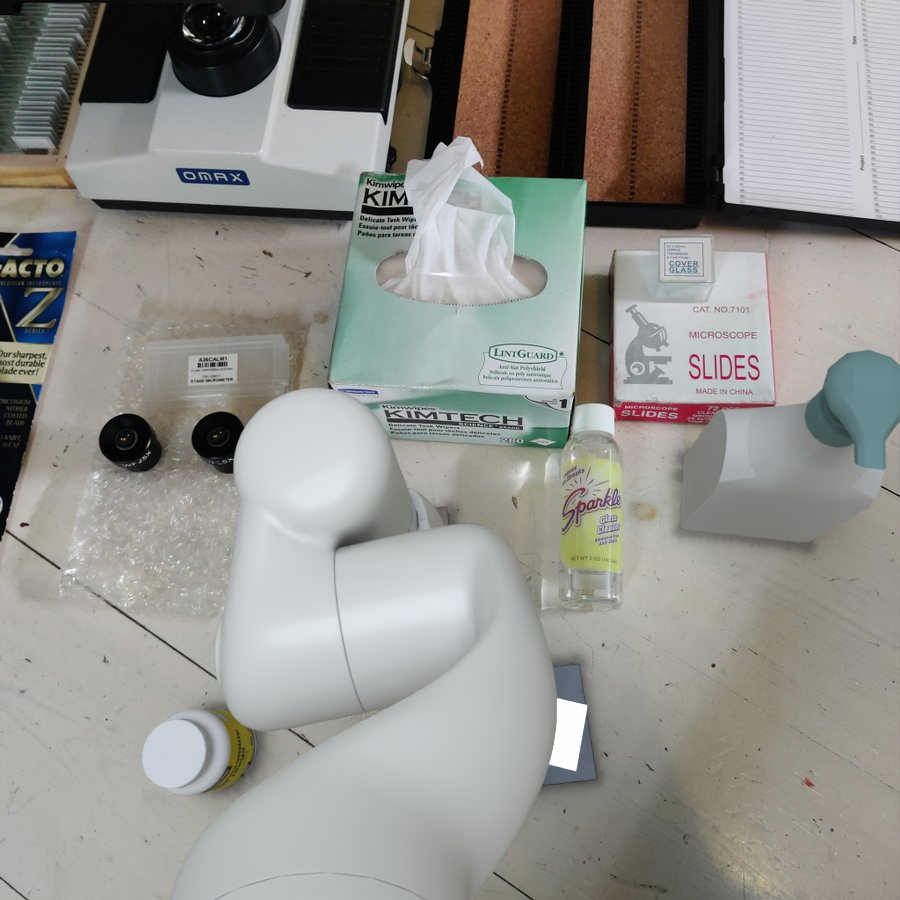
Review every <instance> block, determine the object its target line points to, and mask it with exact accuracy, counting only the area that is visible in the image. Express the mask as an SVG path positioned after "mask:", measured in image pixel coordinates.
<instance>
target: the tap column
mask: <svg viewBox="0 0 900 900" xmlns="http://www.w3.org/2000/svg"><path fill="white" fill-rule="evenodd" d="M553 669H554V676H555V684H556V693H557V697H558V698H562V699H566V700H570V701H575V702H579V703H583V704H586V697H585V696H586V695H585V691H584V683H583V678H582V672H581V665H580V663H571V664H570V663H569V664H562V665H553ZM590 729H591V728H590V722H589V717H588V715H587V716H586V721H585V727H584V733H583V739H582V744H581V750H580V756H579V761H578V767H577V772H574V771H570V770H566V769H562V768H558V767H554V766H550V765H549V767H548V770H547V773H546V776H545V779H544V782H543V785H542V787H545V786H554V785H561V784H570V783H579V782H588V781H597V780H598V776H597V768H596V762H595V756H594V750H593V742H592V737H591V736H592V735H591V730H590Z"/></svg>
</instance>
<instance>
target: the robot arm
mask: <svg viewBox="0 0 900 900" xmlns="http://www.w3.org/2000/svg"><path fill="white" fill-rule="evenodd" d="M233 478H234V479H233V480H234V484H235V488H236V492H237V495H238V506H237V507H238V508H237V517H236V524H235V531H234V532H235V534H234V538H233V539H234V540H233V548H232V555H231V562H230V566H229V567H230V568H229V573H228V574H229V575H228V581H227V588H226V593H225V599H224V607H223V613H222V615H221V616H220V618H219V620H218V623H217V625H216V626H217V627H216V629H215V636H214V643H213V664H214V671H215V672H214V673H215V677H216V682H217V685H218V688H219V691H220V692H221V694H222V696H223V698H224V701H225V704H226V706H227V708H228V711H230V712H231V713H232V715H233V716H234V718H235V719H236V720H237V721H239V722H240V723H241V724H242V725H244V726H245V727H247V728H250V729H253V731H257V732H276V731H284V730H285V731H286V730H290V729H295V728H300V727H305V726H310V725H315V724H320V723H325V722H328V721H333V720H338V719H343V718H347V717H352V716H357V715H361V714H367V713H369V712H373V711H378V710H381V711H378V712H377V713H375V714H372V715H371V716H369V717H367V718H365V719H364V720H362V721H359V722H357V723H356V724H354V725H352V726H350V727H348V728H346V729H344V730H342V731H341V732H339V733H336V734H335V735H333V736H331V737H329V738H328V739H326V740H324V741H323V742H321V743H319V744H318V745H316V746H314V747H312V748H311V749H309V750H307V751H306V752H304V753H302V754H301V755H300V756H298V757H295V759H293V760H292V761H290V762H288V763H287V764H285V765H284V766H282V767H280V768H279V769H277V770H276V771H274V772H273V773H272V774H270V775H268V776H267V777H266V778H264V779H263V780H261V781H260V782H258V783H257V784H256V785H254V786H252V787H250V788H249V789H248V790H246V791H245V792H244V793H242V794H241V795H240V796H238V798H236V799H235V800H234V801H233V802H231V803H230V804H229V805H228V806H227V807H225V808H224V809H222V811H220V813H219V814H217V816H215V818H214V819H213V820H211V822H210V823H209V824H208V825H207V826H206V827H205V829H204V830H203V831H202V832H201V834H199V836H198V837H197V839H196V840H195V841H194V842H193V844H192V845H191V847H190V848H189V850H188V852H187V853H186V856H185V857H184V859H183V861H182V864H181V866H180V868H179V870H178V873H177V875H176V878H175V879H174V880H175V881H174V883H173V887H172V890H171V892H170V898H169V900H474V898H475V897H476V896H477V894H478V893H480V891H481V889H482V888H483V886H484V885H485V884H486V883H487V882H488V880H489V879H490V877H491V876H492V875H493V874H494V873H495V872H496V870H497V868H498V867H499V865H500V864H501V863H502V861H503V860H504V859H505V857H506V855H507V854H508V852H509V851H510V849H511V848H512V846H513V845H514V843H515V841H516V840H517V838H518V836H519V835H520V833H521V831H522V829H523V828H524V826H525V824H526V823H527V821H528V818H529V817H530V814H531V812H532V810H533V808H534V806H535V804H536V802H537V799H538V797H539V795H540V792H541V790H542V788H543V786H542V785H543V782H544V779H545V776H546V773H547V770H548V767H549V763H550V760H551V756H552V752H553V747H554V741H555V735H556V727H557V693H556V684H555V676H554V669H553V666H554V665H553V660H552V654H551V652H550V648H549V644H548V640H547V637H546V633H545V630H544V627H543V624H542V621H541V619H540V615H539V612H538V610H537V606H536V603H535V600H534V597H533V594H532V591H531V588H530V585H529V583H528V580H527V578H526V577H527V576H526V574H525V572H524V569H523V566H522V565H521V562H520V561H519V559H518V557H517V555H516V554H515V552H514V550H513V549H512V547H511V545H510V544H509V543H508V542H507V540H505V539H504V537H503V536H501V534H499V533H498V532H496V531H495V530H493V529H492V528H489V527H487V526H484V525H480V524H474V523H455V524H450V525H448V526H444V525H443V521H442V519H441V517H440V515H439V513H438V512H437V510H436V509H435V508H436V507H435V506H434V504H433V503H432V502H431V501H430V500H429V499H428V498H427V497H426V496H424V495H423V494H422V493H420V492H419V491H418V490H416V489H414V488H411V487H408V485H407V482H406V480H405V477H404V474H403V471H402V469H401V466H400V462H399V461H398V457H397V455H396V452H395V450H394V447H393V444H392V442H391V439H390V436H389V434H388V433H387V430H386V428H385V427H384V425H383V423H382V422H381V420H380V419H379V418H378V416H377V415H376V413H375V412H374V411H373V410H372V409H371V408H370V407H369V406H367V404H366V403H365V404H364V402H362V401H361V400H359V399H358V398H356V397H354V396H352V395H350V394H348V393H346V392H342V391H340V390H337V389H332V388H324V387H305V388H300V389H296V390H291V391H289V392H286V393H284V394H281V395H279V396H277V397H276V398H273V399H272V400H269V402H267V403H266V404H264V405H263V406H262V407H261V408H259V410H257V411H256V412H255V413H254V415H253V416H252V417H251V418H250V419H249V421H247V423H246V425H245V426H244V428H243V430H242V432H241V434H240V436H239V439H238V441H237V444H236V447H235V451H234V457H233Z"/></svg>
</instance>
